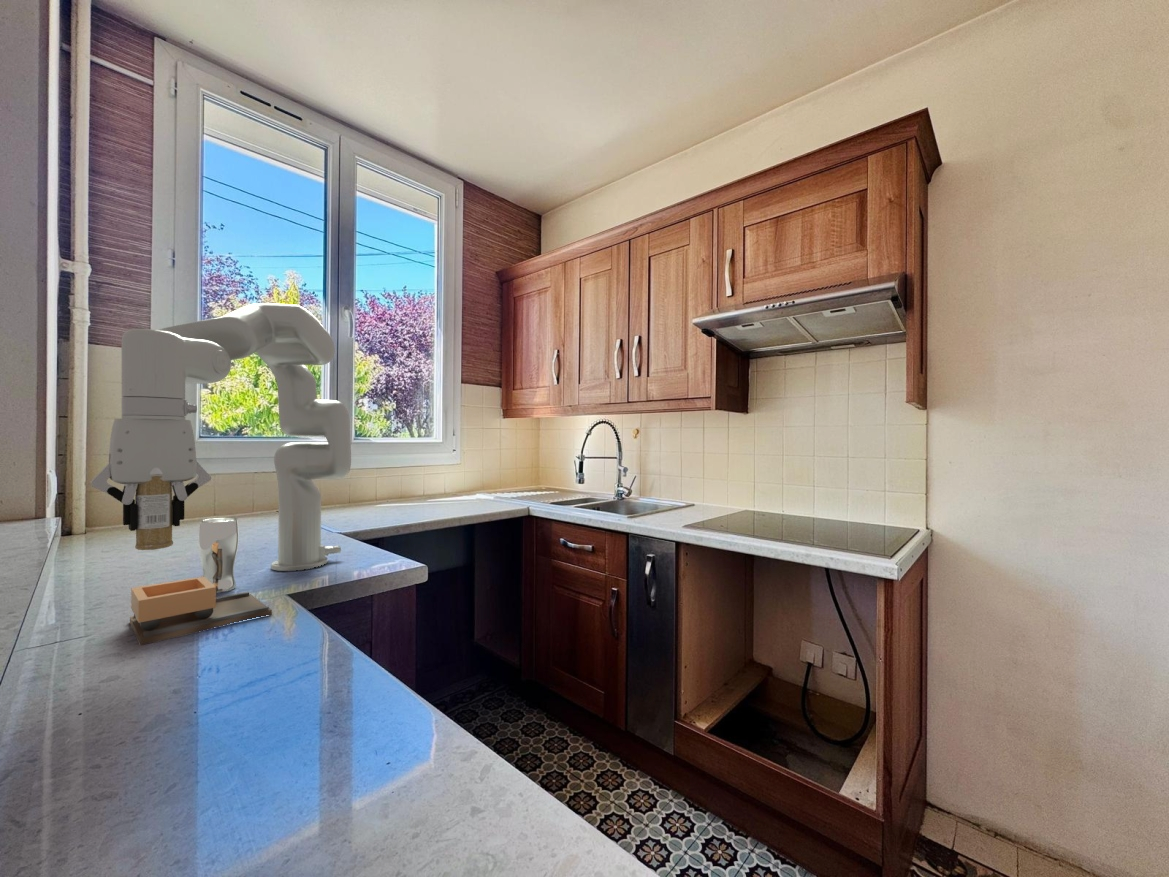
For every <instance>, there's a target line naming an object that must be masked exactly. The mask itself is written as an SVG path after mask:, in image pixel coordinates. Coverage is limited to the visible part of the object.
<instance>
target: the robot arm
mask: <svg viewBox="0 0 1169 877" xmlns="http://www.w3.org/2000/svg"><path fill="white" fill-rule="evenodd" d="M335 352H336V348H335V344H334V341H333V338H332V336H331V334H330V333H329V332H328V330H327V329H326V328H325V327H324V326H323V324H321V322H320V321H319V320H318V319H317V317H315V316H314V314H312V313H311V312H310V311H309V310H307V309H306V308H305V307H303V306H301V305H299V304H291V303H290V304H289V303H288V304H287V303H269V302H266V303H264V302H263V303H251V304H247V305H245V306H242V307H240V308H237V309H235V310H233V311H232V312H229V313H227V314H224V315H222V316H219V317H215V318H208V319H202V320H198V321H194V322H188V323H183V324H178V325H177V324H176V325H172V326H168V327H163V328H159V329H152V328H151V329H149V328H133V329H129V330H126V331H124V332H123V334H122V337H121V418H114V420H113V423H112V427H111V432H110V440H109V450H108V463H107V464H106V465H105V466H104V467H103V468H102V469H101V471H100V472H99V473H98V474H97V475H96V476H95V477H93V479H92V480H91V481H90V482H89V485H90V486H91V487H93V488H94V489H97V490H98V491H101V492H103V493H105V494H107V495H109V496H111V497H112V498H114V499H115V500H117V501H118V502H120V503H121V504H122V525H123V526H128V530H129V531H130V532H133V531H135V532H136V530H137V504H136V502H135V498H134V497H135V495H136V489H137V485H138V484H143V483H145V482H149V481H150V480H152V478H151V477H153V476H162V477H161V478H160V479H162V481H166V482H171V483H172V493H173V495H172V506H173V524H172V527H180V524H181V522H180V521H183V520H185V501H186V500H187V499H188V498H189V497H190V496H191V495H192V494H194V492H195V491H197V490H198V488H200V487H202V486H204V485H205V484H207V483H209V482H210V481H211V480H212V476H211V475H210V474H209V473H208V472H207V470H205V468H203V466H202V465H201V464H200V463H199V462H198V461H197V452H196V443H195V442H196V441H195V434H194V430H193V429H194V428H193V426H192V421H191V420H190V419H186V417H187V415H188V414H192V413H194V414H196V413H197V410H198V407H197V404H191V403H188V402H187V400H186V384H194V385H195V384H198V385H199V384H201V385H202V384H203V385H205V384H206V385H207V384H215V383H218V382H221V381H222V380H224V379H226V378H227V376H229V374H230V372H231V370H232V369H231V368H232V361H236V360H241V359H245V358H248V357H250V356H251V355H253V354H255V353H257V355H258V357H259V358H260V359H261V360H262V361H263V362H264V363H265V364H266V365H267V367H268V369H270V371H271V372H272V374H273V376H274V378H275V380H276V385H277V402H278V417H279V418H278V419H279V427H280V430H281V431H282V433H283V434H285V435H286V436H289V437H296V438H297V437H298V438H304V437H305V438H325V439H326V441H327V442H326V441H325V442H324V441H321V442H320V441H296V442H295V441H293V442H287V443H284V444H282V445H280V446H279V447H278V448H277V449H276V450H275V453H274V458H273V463H274V468H275V469H274V470H275V474H276V480H277V486H278V487H277V488H278V489H277V490H278V515H277V516H278V518H277V519H278V520H277V521H278V522H277V523H278V525H277V526H278V531H277V532H278V534H277V536H278V537H277V539H278V540H277V547H278V548H277V550H278V551H277V560H274V561H272V562H271V564H270V569H271V570H273V571H278V572H294V571H295V572H296V570H298V571H304V569H306V570H311V569H315V568H314V567H316V568H319V567H322V566H324V564H325V565H326V564H327V563H328V559H329V558H328V556H329V555H335V554H340V553H341V552H342V549H341V548H342V547H341V545H334V546H332V545H328V546H325V545H323V544H322V494H321V492H320V490H319V488H318V487H317V485H316V484H315V483H314V482H313V480H336V479H337V480H339V479H344V478H345V477H347V476H348V475H349V473H350V470H351V467H352V466H351V465H352V448H351V447H352V446H351V445H352V444H351V443H352V442H351V424H350V423H351V422H350V415H349V410H348V408H347V407H346V405H345V404H344V403H343V402H341V401H339V400H335V399H318V395H317V394H318V393H317V381H316V378H315V377H314V374H313V373H312V371H311V370H310V369H309V368H308V367H307V366H324V365H327V364H328V363H330V362H332V360H333V358H334V356H335ZM154 468H159V469H160V470H161V471H162V473H163V474H160V475H150V472H151V471H152V469H154ZM194 478H195V479H194ZM108 479H110V480H111V481H113V482H114V483H117V484H120V485H123V488H122V490H121V489H119V488H117V487H116V486H115V485H112V484H110V483H108ZM193 479H194V480H193ZM190 480H192V481H190ZM187 481H190V482H189V483H187V484H186V485H185V484H184V482H187ZM321 565H322V566H321ZM318 566H319V567H318ZM310 568H311V569H310Z"/></svg>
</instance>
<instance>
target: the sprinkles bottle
mask: <svg viewBox="0 0 1169 877" xmlns="http://www.w3.org/2000/svg"><path fill="white" fill-rule="evenodd" d="M160 474H163V473H162V471H161V470H160V469H159V468H154V469H152V471H151V472H150V475H160ZM161 477H162V476H153V477H151V478H152V480H150V481H149V482H145V483H143V484H138V485H137V489H136V492H135V495H134V497H135V498H134V500H135V504H137V530H135V535H136V537H135V542H136V543H135V546H134V547H135V550H138V551H154V550H159V549H165V548H169V547H172V546H173V545H174V541H173V525H172V524H173V506H172V500H173V489H172V483H171V482H166V481H162V479H160V478H161Z"/></svg>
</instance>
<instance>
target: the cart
mask: <svg viewBox="0 0 1169 877" xmlns="http://www.w3.org/2000/svg"><path fill="white" fill-rule="evenodd" d="M130 591H131V593H130V594H131V596H130V598H131V599H130V602H131V603H130V604H131V606H130V609H131V611H132V612H133V616H134V615H135V617H136V619H137V621H138V623H140V626H141V628H142V629H143V630H145V631H151V630H154V629H156V628H157V627H158V626H159V625H160V622H161V621H160V618H165V617H170V616H175V615H180V614H185V613H190V612H195V615H196V616H197V618H199V619H207V618H209V617H210V616H211V615H212V613H213V608H215V607H216V598H217V594H216V587H215V586H214V585H213V584H212V583H211V582H209V581H208V580H207V579H206V578H205V577H204V576H203V575H202V576H197V577H193V578H192V577H191V578H186V579H178V580H174V581H173V580H172V581H166V582H162V583H161V582H160V583H154V584H148V585H142V586H135V587H131V589H130Z"/></svg>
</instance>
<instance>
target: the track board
mask: <svg viewBox="0 0 1169 877" xmlns="http://www.w3.org/2000/svg"><path fill="white" fill-rule="evenodd" d="M266 615H272V616H273V610H272V609H271V608H270V607H269V606H268V605H266V604H265V603H263V602H262V601H261V600H260V599H258V598H257V597H255V596H254V595H253V594H252V593H250V592H249V591H245V592H244V591H243V592H239V593H234V594H233V593H232V594H228V595H224V596H216V607H215V608H213V613H212V615H211V616H210V617H209V618H207V619H199V618H197V616H196V615H195V612H190V613H185V614H180V615H175V616H170V617H165V618H160V621H161V622H160V625H159V626H158V627H157V628H156V629H154V630H151V631H145V630H143V629H142V628H141V626H140V623H138V621H137V619H136V617H135V615H134V614H133V616H130V617H129V624H130V626H131V628H132V630H133V633H134V636H135V637H136V639H138V640H137V642H138V644H139V645H140V646H143V645H147V644H152V643H157V642H160V641H166V640H169V639H174V638H179V637H182V636H183V637H184V636H187V635H191V634H197V633H200V632H199V631H201V632H204V631H203V630H206V631H208V630H207V629H210V630H212V629H211V628H214V627H219V626H223V625H227V624H230V623H234V622H239V621H243V620H247V619H252V618H256V617H261V616H266ZM223 627H224V626H223ZM219 628H220V627H219ZM214 629H215V628H214ZM196 632H197V633H196Z"/></svg>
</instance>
